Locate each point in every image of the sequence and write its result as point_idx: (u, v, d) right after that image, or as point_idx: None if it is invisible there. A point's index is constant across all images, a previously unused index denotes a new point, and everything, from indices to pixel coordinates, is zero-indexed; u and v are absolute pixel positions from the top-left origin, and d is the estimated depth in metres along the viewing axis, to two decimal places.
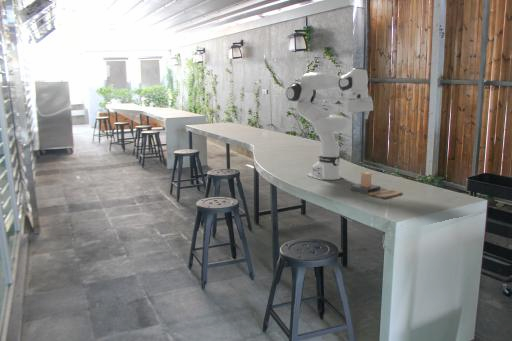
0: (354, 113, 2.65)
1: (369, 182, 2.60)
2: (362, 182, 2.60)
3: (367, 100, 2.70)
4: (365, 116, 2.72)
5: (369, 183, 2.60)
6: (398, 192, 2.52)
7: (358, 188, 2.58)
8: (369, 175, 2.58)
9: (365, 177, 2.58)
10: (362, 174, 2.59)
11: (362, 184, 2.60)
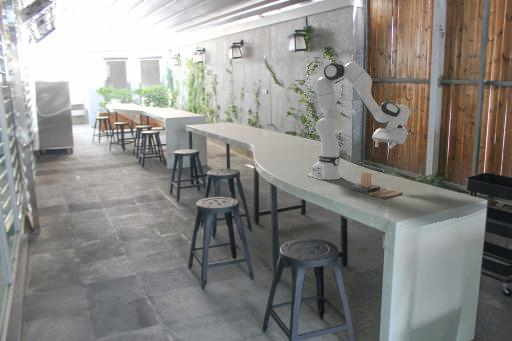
0: (395, 143, 2.62)
1: (369, 182, 2.60)
2: (362, 182, 2.60)
3: None
4: (378, 144, 2.69)
5: (369, 183, 2.60)
6: (398, 192, 2.52)
7: (358, 188, 2.58)
8: (369, 175, 2.58)
9: (365, 177, 2.58)
10: (362, 174, 2.59)
11: (362, 184, 2.60)
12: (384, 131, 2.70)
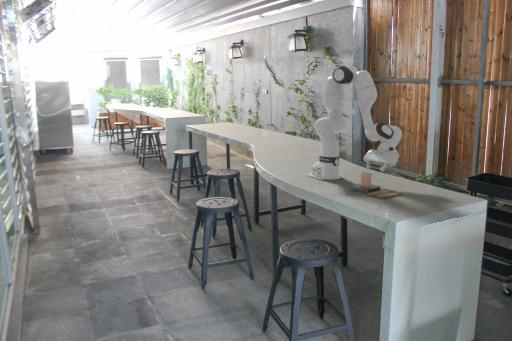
0: (386, 166, 2.60)
1: (369, 182, 2.60)
2: (362, 182, 2.60)
3: None
4: (369, 166, 2.67)
5: (369, 183, 2.60)
6: (398, 192, 2.52)
7: (358, 188, 2.58)
8: (369, 175, 2.58)
9: (365, 177, 2.58)
10: (362, 174, 2.59)
11: (362, 184, 2.60)
12: (375, 153, 2.68)
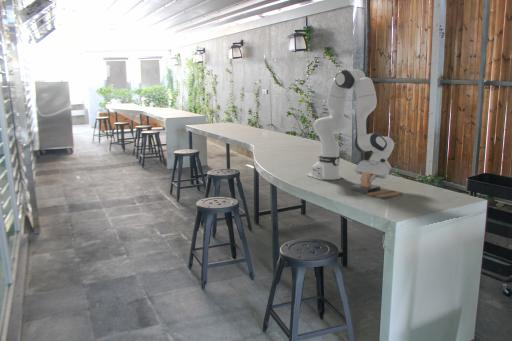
0: (375, 177, 2.58)
1: (369, 182, 2.60)
2: (362, 182, 2.60)
3: None
4: None
5: (369, 183, 2.60)
6: (398, 192, 2.52)
7: (358, 188, 2.58)
8: (369, 175, 2.58)
9: (365, 177, 2.58)
10: (362, 174, 2.59)
11: (362, 184, 2.60)
12: (367, 164, 2.65)
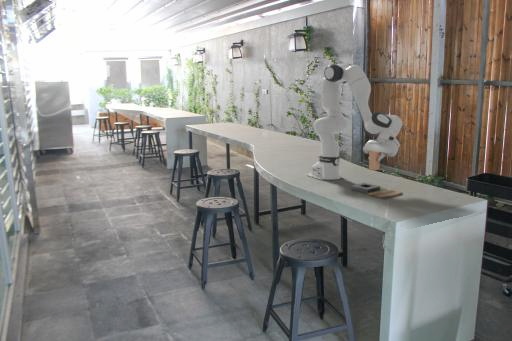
0: (384, 155, 2.52)
1: (378, 161, 2.53)
2: (370, 161, 2.54)
3: None
4: None
5: (378, 162, 2.53)
6: (398, 192, 2.52)
7: (358, 188, 2.58)
8: (377, 153, 2.52)
9: (373, 155, 2.52)
10: (370, 153, 2.53)
11: (370, 163, 2.54)
12: (375, 143, 2.59)
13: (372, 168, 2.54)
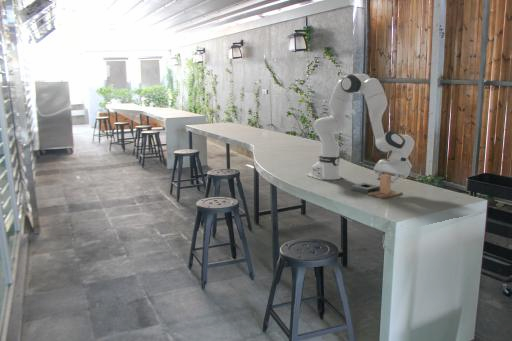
0: (398, 177, 2.47)
1: (389, 184, 2.50)
2: (381, 184, 2.50)
3: None
4: None
5: (389, 185, 2.50)
6: (398, 192, 2.52)
7: (358, 188, 2.58)
8: (389, 177, 2.49)
9: (385, 179, 2.48)
10: (381, 176, 2.50)
11: (381, 186, 2.50)
12: (386, 163, 2.55)
13: (383, 191, 2.50)
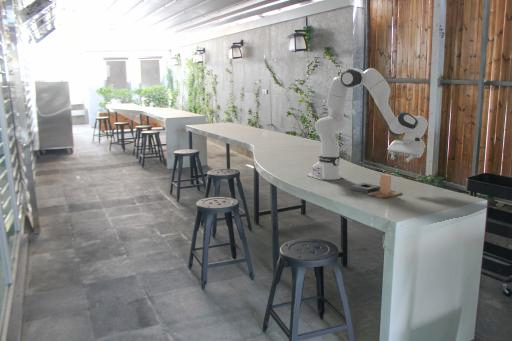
0: (412, 157, 2.52)
1: (389, 184, 2.50)
2: (381, 184, 2.50)
3: None
4: (394, 157, 2.60)
5: (389, 185, 2.50)
6: (398, 192, 2.52)
7: (358, 188, 2.58)
8: (389, 177, 2.49)
9: (385, 179, 2.48)
10: (381, 176, 2.49)
11: (381, 186, 2.50)
12: (400, 143, 2.61)
13: (383, 191, 2.50)
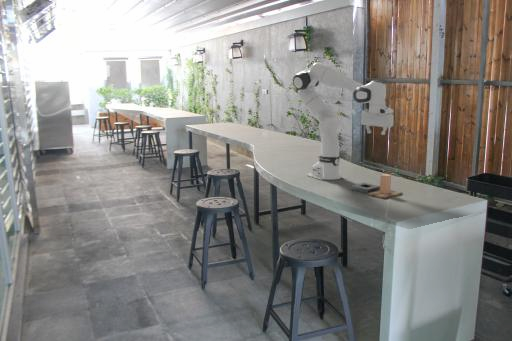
0: (386, 128, 2.58)
1: (389, 184, 2.50)
2: (381, 184, 2.50)
3: None
4: (370, 130, 2.66)
5: (389, 185, 2.50)
6: (398, 192, 2.52)
7: (358, 188, 2.58)
8: (389, 177, 2.49)
9: (385, 179, 2.48)
10: (381, 176, 2.49)
11: (381, 186, 2.50)
12: (369, 115, 2.63)
13: (383, 191, 2.50)
